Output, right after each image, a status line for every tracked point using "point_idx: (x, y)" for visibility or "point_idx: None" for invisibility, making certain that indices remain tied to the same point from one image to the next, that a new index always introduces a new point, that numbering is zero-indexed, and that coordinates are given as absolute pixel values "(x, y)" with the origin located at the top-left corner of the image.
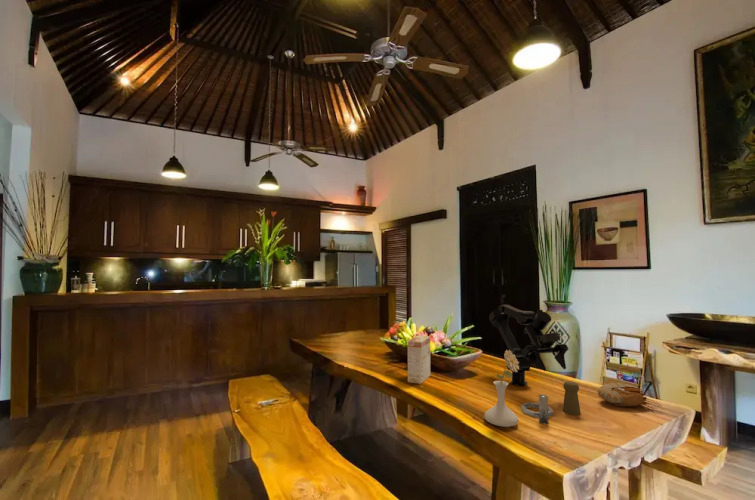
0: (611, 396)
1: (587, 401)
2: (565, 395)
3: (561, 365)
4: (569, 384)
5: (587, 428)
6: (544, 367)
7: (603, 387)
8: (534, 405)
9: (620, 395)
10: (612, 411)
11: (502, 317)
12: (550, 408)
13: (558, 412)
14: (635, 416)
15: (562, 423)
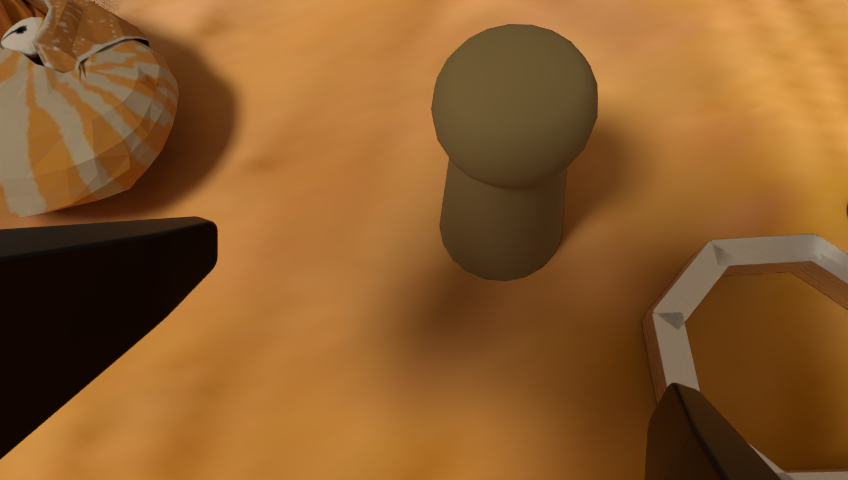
0: (158, 74)
1: None
2: (559, 184)
3: (142, 318)
4: (583, 59)
5: (661, 43)
6: (715, 412)
7: (44, 134)
8: None
9: (112, 38)
10: (259, 102)
11: None
12: (685, 284)
13: (605, 265)
14: (241, 16)
15: (755, 144)
